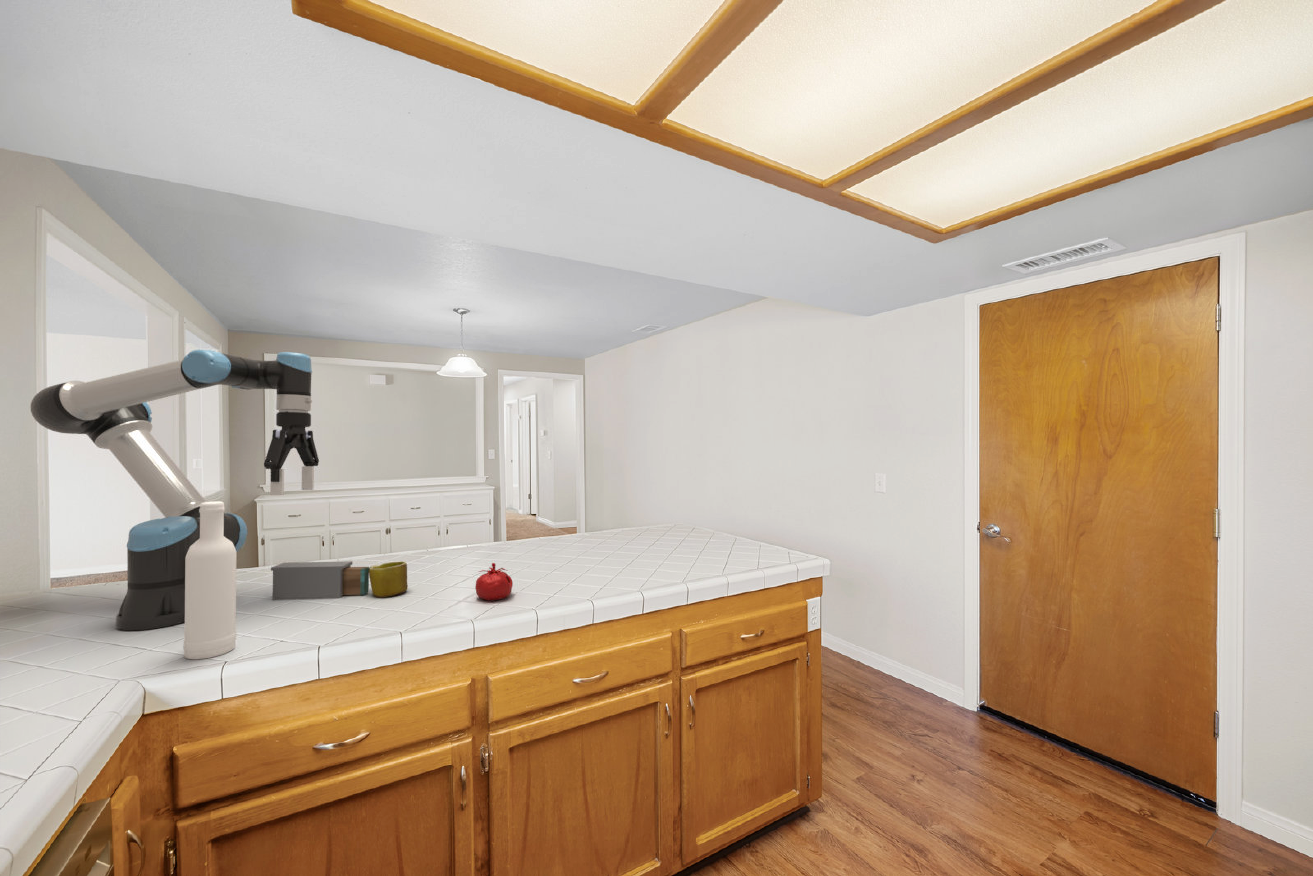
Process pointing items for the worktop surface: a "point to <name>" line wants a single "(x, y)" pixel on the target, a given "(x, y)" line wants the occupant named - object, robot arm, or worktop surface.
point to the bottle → (210, 588)
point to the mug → (388, 579)
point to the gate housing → (308, 580)
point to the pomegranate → (494, 584)
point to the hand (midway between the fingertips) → (293, 492)
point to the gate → (355, 581)
